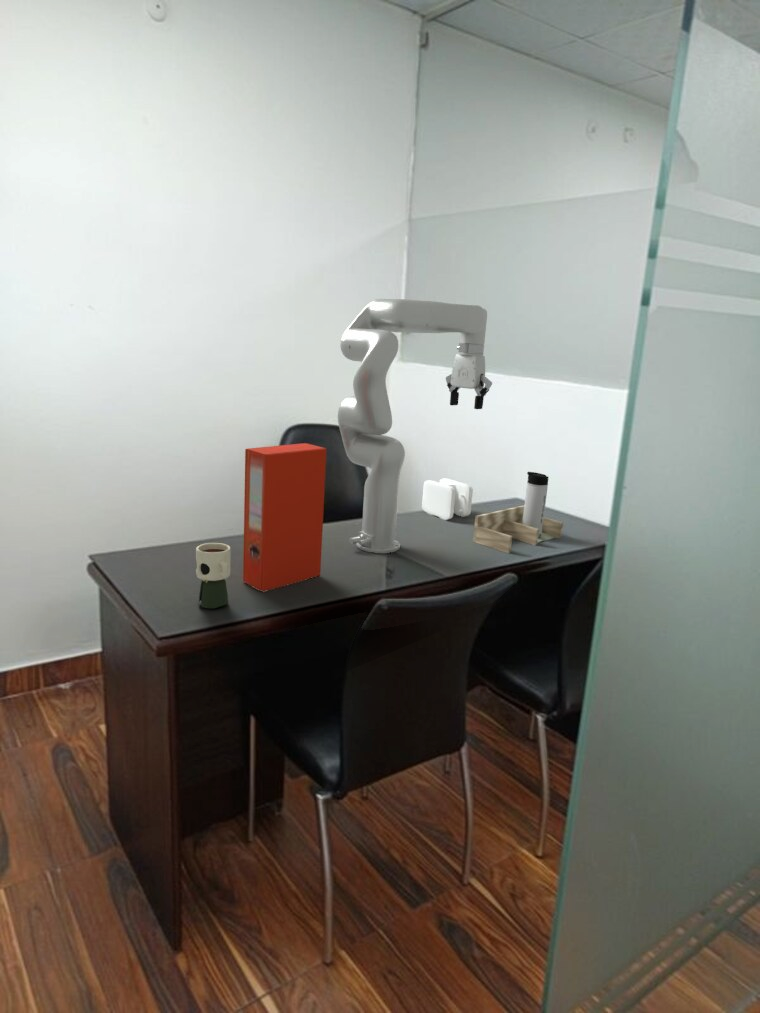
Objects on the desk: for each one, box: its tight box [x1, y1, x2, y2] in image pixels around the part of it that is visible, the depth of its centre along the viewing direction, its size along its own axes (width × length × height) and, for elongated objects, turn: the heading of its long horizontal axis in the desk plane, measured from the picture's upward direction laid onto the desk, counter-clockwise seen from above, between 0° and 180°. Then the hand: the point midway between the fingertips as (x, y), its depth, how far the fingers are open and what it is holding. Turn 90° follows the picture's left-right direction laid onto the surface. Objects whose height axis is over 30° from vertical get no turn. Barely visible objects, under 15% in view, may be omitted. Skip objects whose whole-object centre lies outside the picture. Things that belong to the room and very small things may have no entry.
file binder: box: [242, 442, 327, 591], centre depth 157 cm, size 8×17×32 cm, turn 136°
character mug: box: [195, 542, 232, 609], centre depth 142 cm, size 11×7×13 cm, turn 41°
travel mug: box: [522, 471, 549, 537], centre depth 207 cm, size 6×7×20 cm
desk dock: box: [472, 504, 564, 554], centre depth 204 cm, size 28×13×8 cm, turn 134°
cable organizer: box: [421, 477, 473, 521], centre depth 227 cm, size 15×11×12 cm
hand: (465, 407), depth 206 cm, fingers open, 9 cm apart
